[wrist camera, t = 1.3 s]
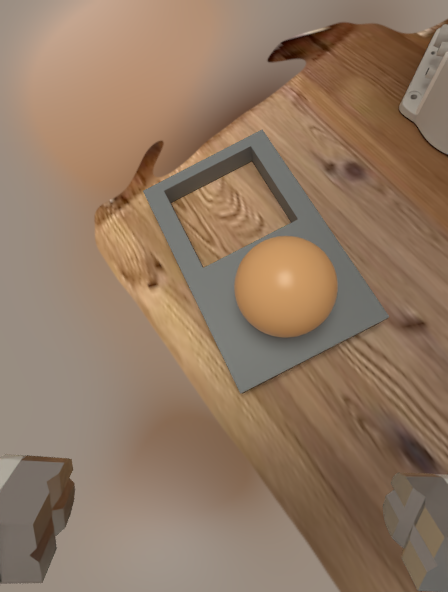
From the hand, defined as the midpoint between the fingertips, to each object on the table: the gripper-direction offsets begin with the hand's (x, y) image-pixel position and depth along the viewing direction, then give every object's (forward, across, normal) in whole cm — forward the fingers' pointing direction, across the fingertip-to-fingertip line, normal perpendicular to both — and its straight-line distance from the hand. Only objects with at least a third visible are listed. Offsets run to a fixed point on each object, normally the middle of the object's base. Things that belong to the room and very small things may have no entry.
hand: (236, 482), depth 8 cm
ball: (+24, -7, +3) cm, 26 cm away
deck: (+35, -5, +3) cm, 36 cm away
